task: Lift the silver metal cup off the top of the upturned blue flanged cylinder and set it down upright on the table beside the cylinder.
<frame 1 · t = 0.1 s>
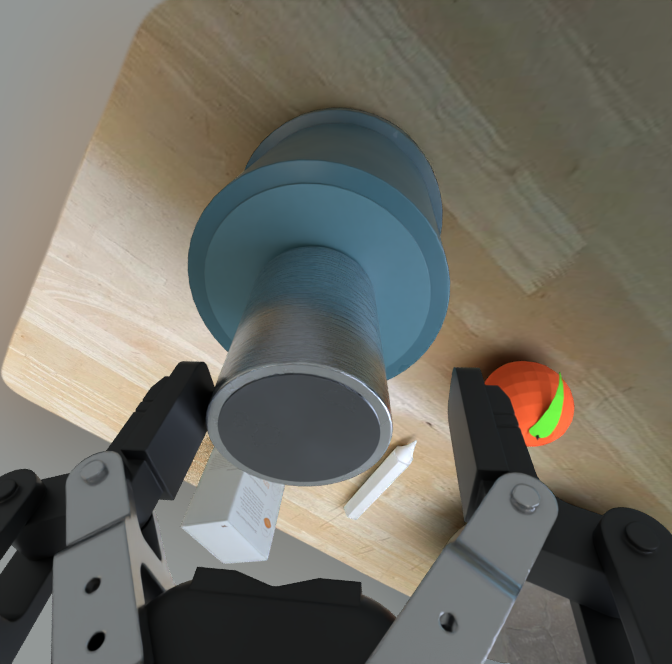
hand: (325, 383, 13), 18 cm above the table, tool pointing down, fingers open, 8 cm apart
clementine: (516, 368, 34), on the table
white pencil: (381, 469, 45), on the table
blue flanged cylinder: (338, 221, 28), on the table
cup: (314, 303, 19), point 11 cm above the table, tilted 6°, touching blue flanged cylinder, gripper
small box: (255, 452, 46), on the table
bowl: (529, 534, 50), on the table
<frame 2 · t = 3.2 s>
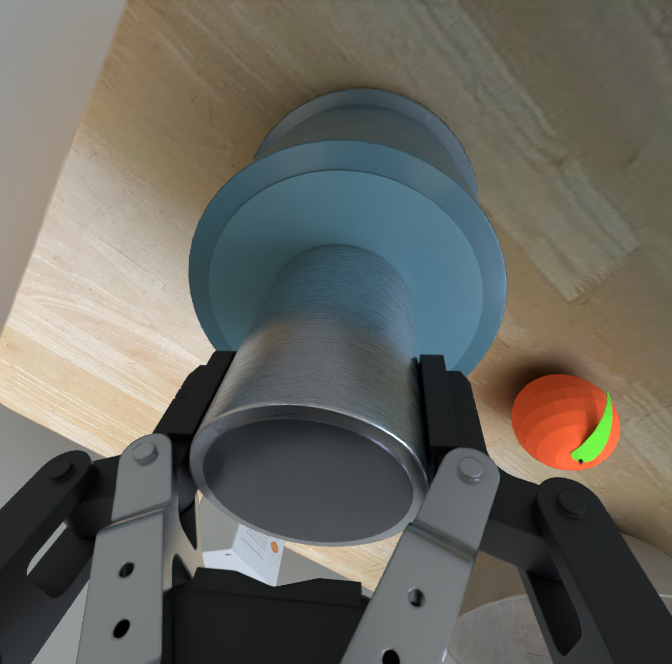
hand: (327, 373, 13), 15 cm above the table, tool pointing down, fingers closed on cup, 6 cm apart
clementine: (549, 382, 31), on the table
blue flanged cylinder: (358, 219, 25), on the table
cup: (339, 312, 16), point 11 cm above the table, touching blue flanged cylinder, gripper
small box: (260, 468, 43), on the table
bowl: (553, 553, 47), on the table
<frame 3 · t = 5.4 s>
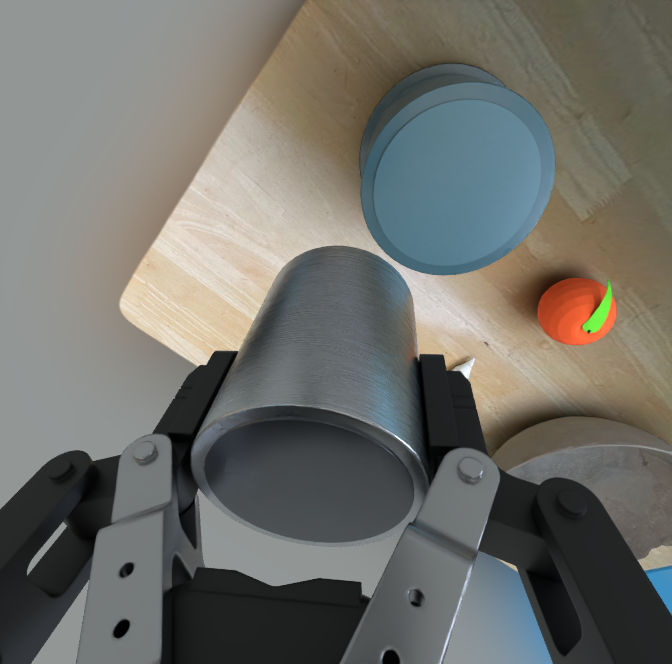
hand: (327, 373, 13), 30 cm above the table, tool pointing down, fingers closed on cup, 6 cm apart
clementine: (565, 289, 42), on the table
white pencil: (438, 390, 53), on the table
blue flanged cylinder: (437, 157, 36), on the table
cup: (340, 312, 16), point 26 cm above the table, touching gripper
bowl: (560, 453, 58), on the table
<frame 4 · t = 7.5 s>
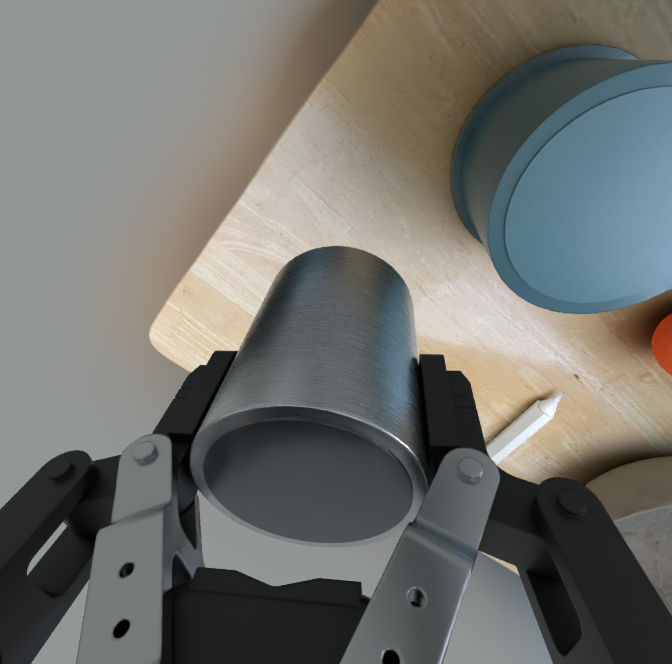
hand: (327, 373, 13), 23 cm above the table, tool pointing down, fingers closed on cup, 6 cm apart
white pencil: (511, 426, 46), on the table
blue flanged cylinder: (547, 163, 29), on the table
cup: (339, 313, 16), point 19 cm above the table, touching gripper
bowl: (645, 493, 51), on the table
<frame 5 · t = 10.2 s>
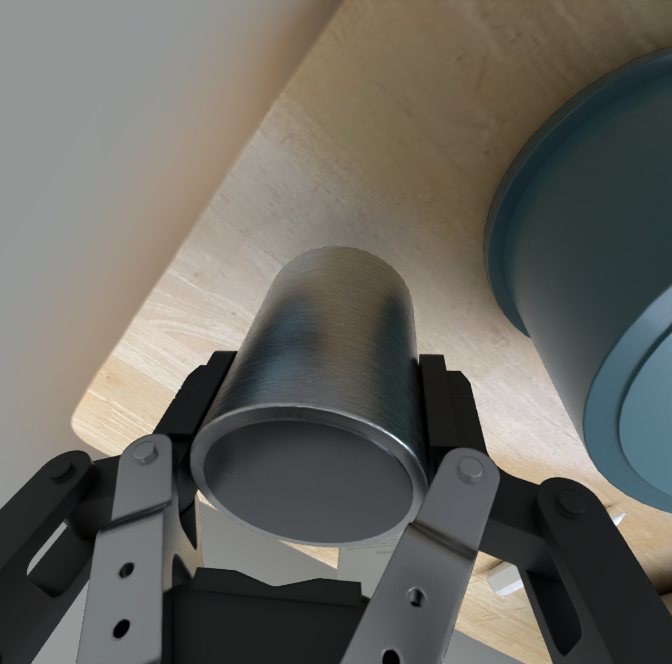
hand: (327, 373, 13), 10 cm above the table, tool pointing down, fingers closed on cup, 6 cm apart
white pencil: (548, 538, 36), on the table
blue flanged cylinder: (641, 225, 18), on the table
cup: (339, 313, 16), point 6 cm above the table, touching gripper
small box: (385, 515, 36), on the table
when the fingers open (4 cm above the table, at t = 12.2 s): cup stays where it is, on the table.
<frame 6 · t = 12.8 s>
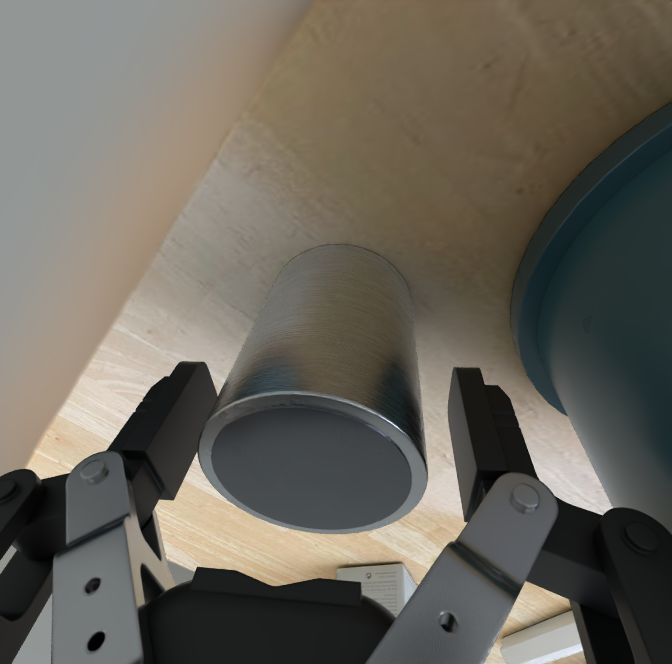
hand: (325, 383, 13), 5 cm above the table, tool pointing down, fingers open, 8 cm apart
white pencil: (572, 611, 31), on the table
cup: (340, 310, 16), on the table
small box: (385, 583, 32), on the table
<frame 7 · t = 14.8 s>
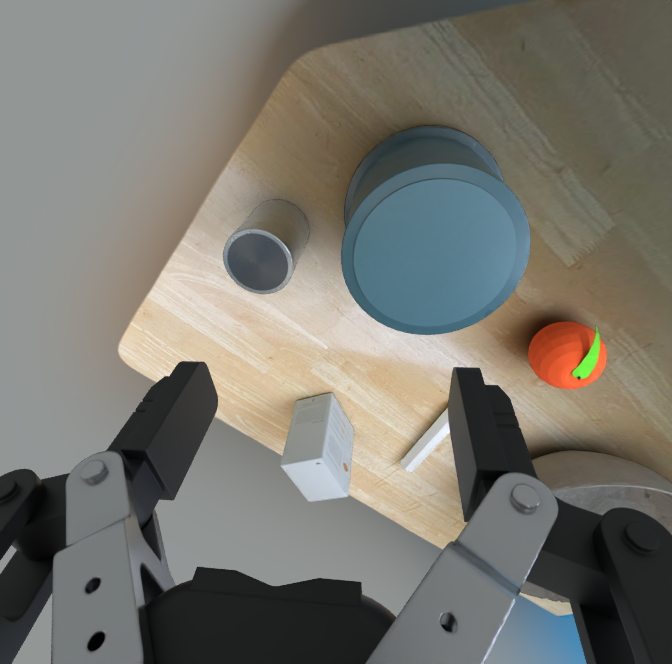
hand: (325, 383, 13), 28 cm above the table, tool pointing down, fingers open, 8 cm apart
clementine: (555, 330, 42), on the table
white pencil: (435, 426, 53), on the table
blue flanged cylinder: (421, 211, 36), on the table
cup: (279, 229, 39), on the table
small box: (326, 413, 54), on the table
bowl: (561, 484, 57), on the table
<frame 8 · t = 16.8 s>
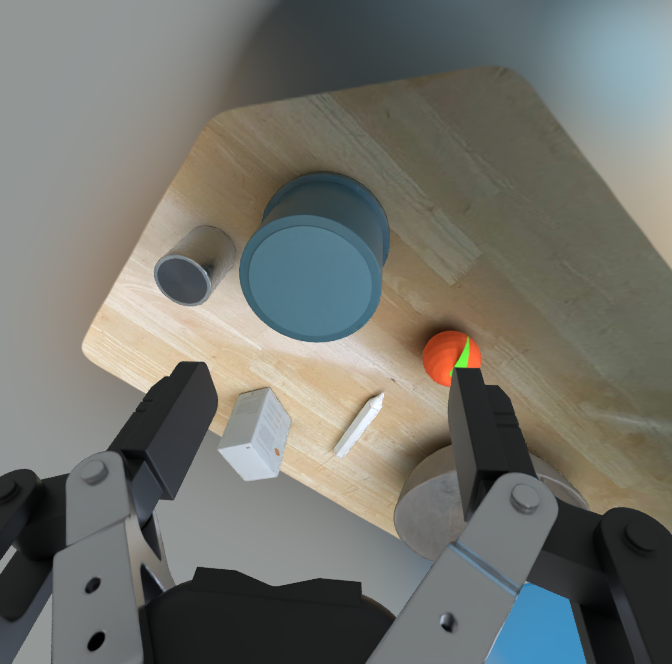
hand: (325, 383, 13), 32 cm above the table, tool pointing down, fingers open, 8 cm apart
clementine: (449, 337, 50), on the table
white pencil: (360, 418, 61), on the table
blue flanged cylinder: (325, 238, 44), on the table
cup: (211, 249, 46), on the table
small box: (266, 406, 62), on the table
bowl: (475, 470, 65), on the table
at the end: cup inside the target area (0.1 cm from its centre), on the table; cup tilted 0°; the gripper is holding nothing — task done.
